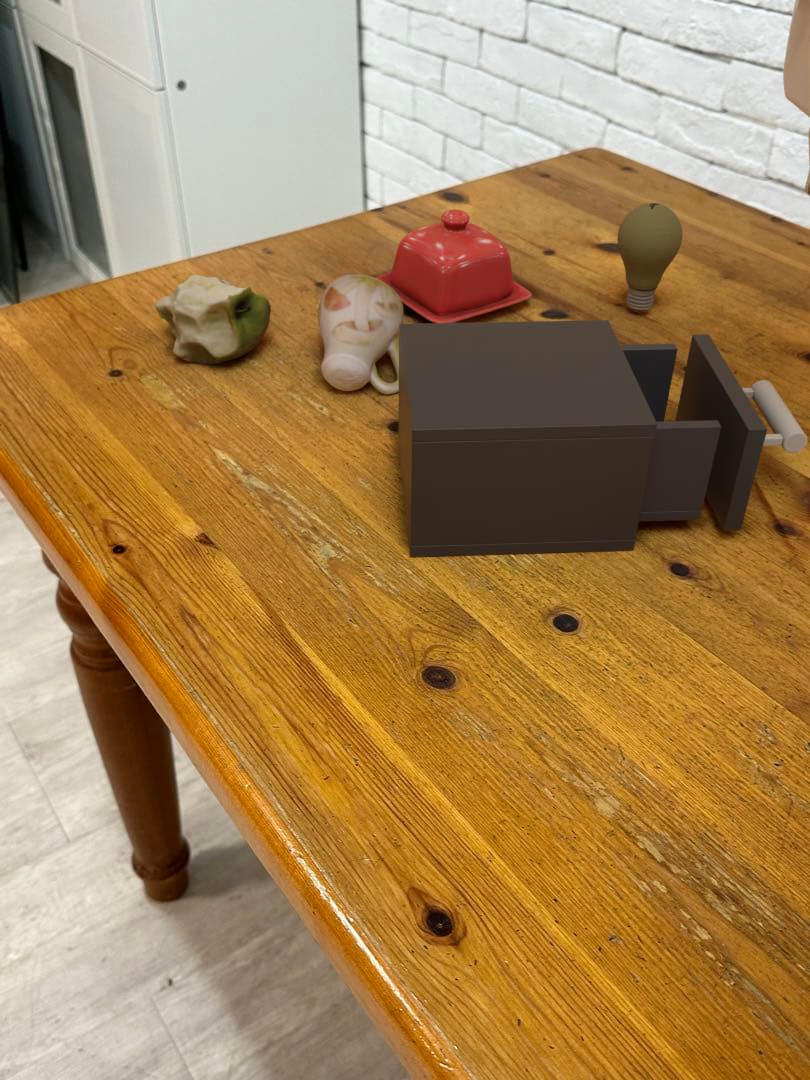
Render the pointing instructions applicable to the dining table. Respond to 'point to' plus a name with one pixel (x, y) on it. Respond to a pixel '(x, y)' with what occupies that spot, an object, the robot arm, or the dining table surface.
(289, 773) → the dining table surface
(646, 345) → the drawer
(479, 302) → the butter dish
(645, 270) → the light bulb
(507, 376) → the cabinet
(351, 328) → the mug
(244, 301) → the fruit
